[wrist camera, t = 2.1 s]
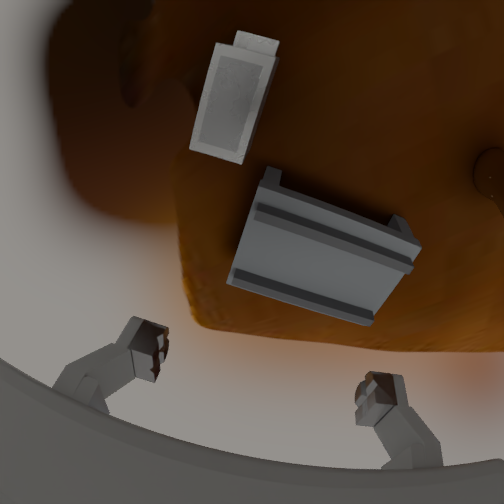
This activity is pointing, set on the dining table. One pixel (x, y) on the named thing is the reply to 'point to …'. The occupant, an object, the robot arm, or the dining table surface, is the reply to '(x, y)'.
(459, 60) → the dining table surface
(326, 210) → the stand
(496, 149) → the beer glass
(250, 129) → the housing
